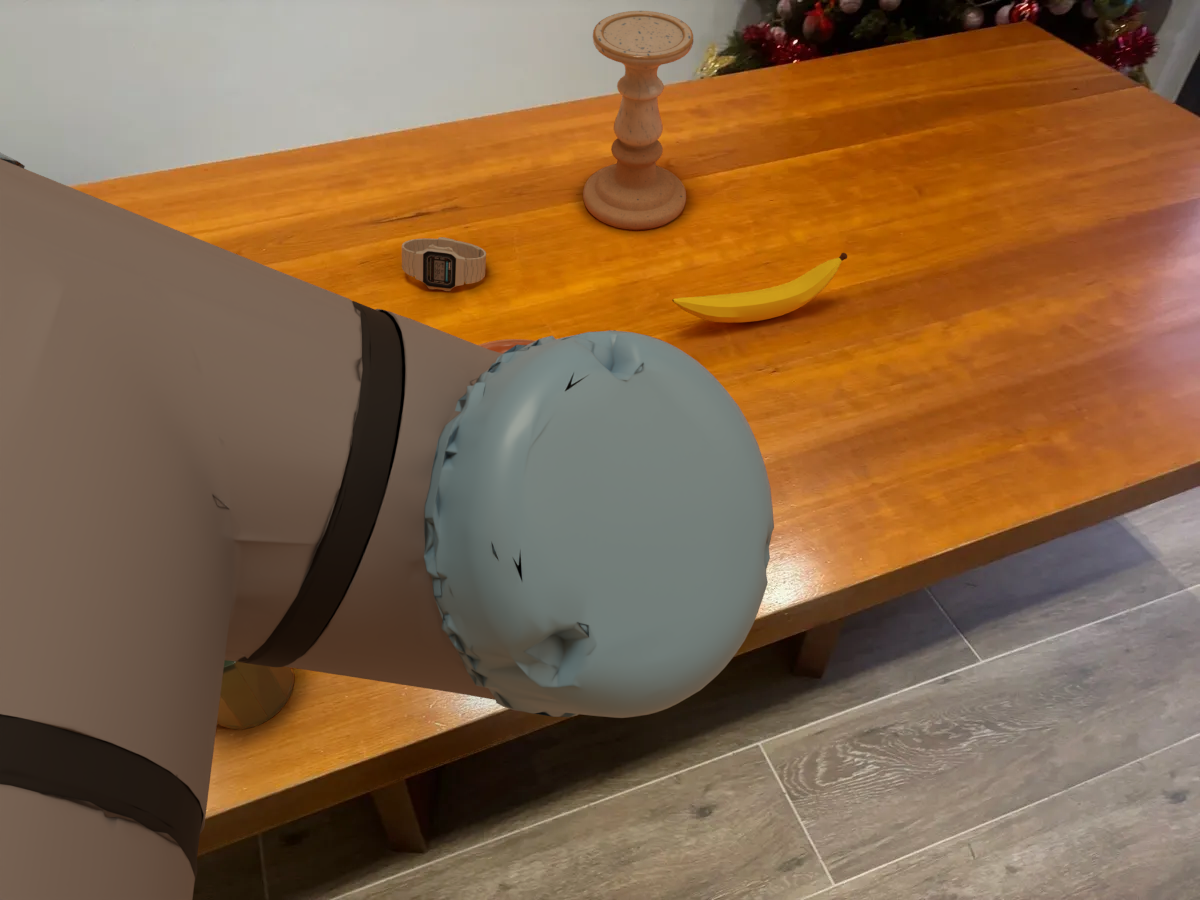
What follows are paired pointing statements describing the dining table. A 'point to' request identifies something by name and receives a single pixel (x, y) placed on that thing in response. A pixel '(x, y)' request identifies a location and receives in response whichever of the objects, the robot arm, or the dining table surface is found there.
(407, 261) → the wristwatch
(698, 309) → the banana
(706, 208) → the dining table surface
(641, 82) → the candle holder
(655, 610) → the robot arm
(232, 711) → the holder
